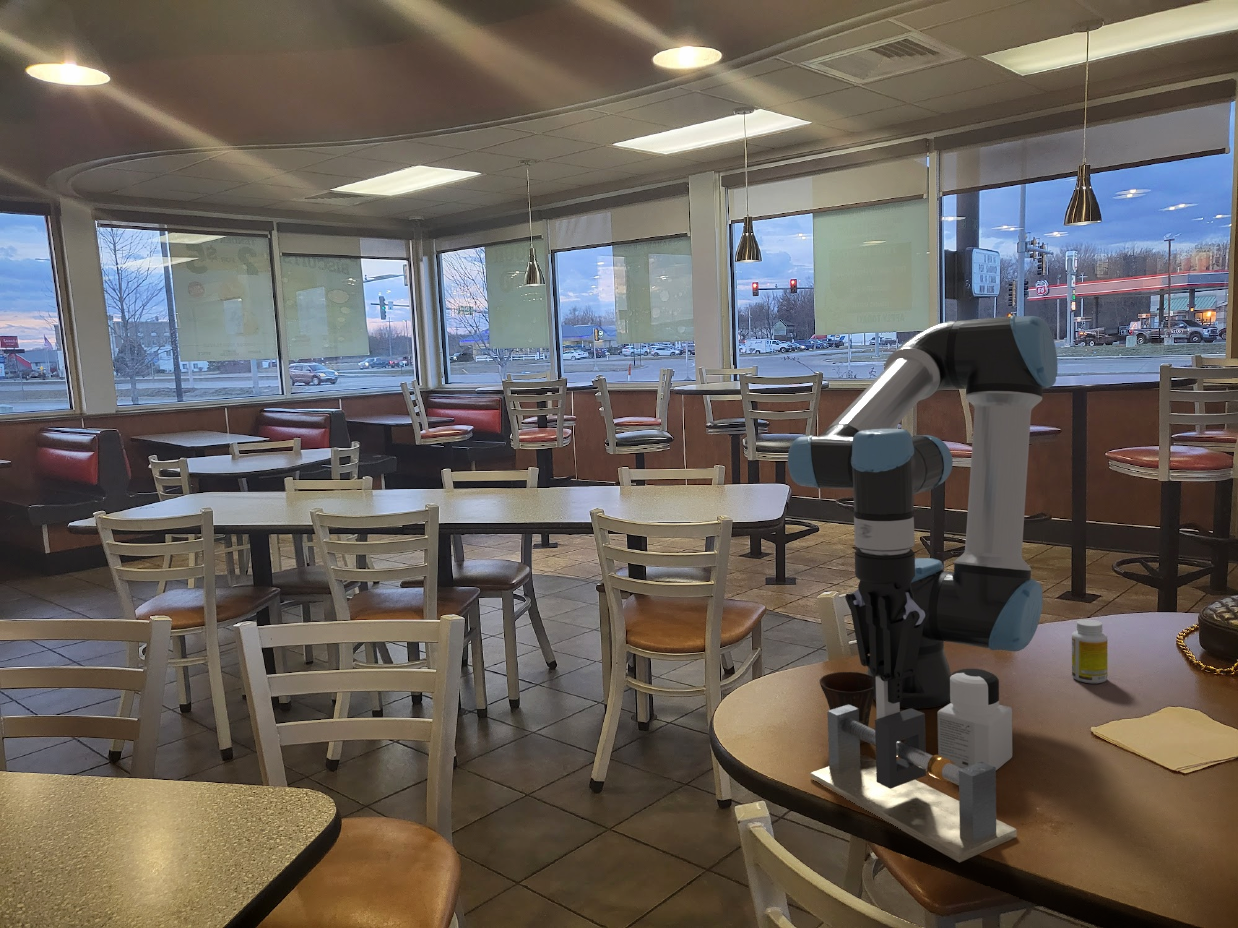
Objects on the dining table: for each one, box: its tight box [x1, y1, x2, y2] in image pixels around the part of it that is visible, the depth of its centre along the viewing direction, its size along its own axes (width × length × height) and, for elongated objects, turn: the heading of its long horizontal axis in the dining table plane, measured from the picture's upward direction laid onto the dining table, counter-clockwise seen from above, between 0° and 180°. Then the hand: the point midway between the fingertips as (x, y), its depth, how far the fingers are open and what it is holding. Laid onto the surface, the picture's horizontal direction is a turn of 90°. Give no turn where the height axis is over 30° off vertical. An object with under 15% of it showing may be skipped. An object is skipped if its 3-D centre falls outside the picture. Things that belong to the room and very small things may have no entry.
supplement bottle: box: [1071, 619, 1108, 685], centre depth 160 cm, size 6×6×10 cm
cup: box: [819, 671, 874, 744], centre depth 141 cm, size 9×9×10 cm
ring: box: [874, 708, 927, 789], centre depth 120 cm, size 2×6×8 cm, turn 119°
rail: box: [810, 704, 1018, 863], centre depth 120 cm, size 26×10×10 cm, turn 29°
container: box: [937, 668, 1013, 771], centre depth 132 cm, size 8×8×13 cm
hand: (888, 722), depth 121 cm, fingers closed
